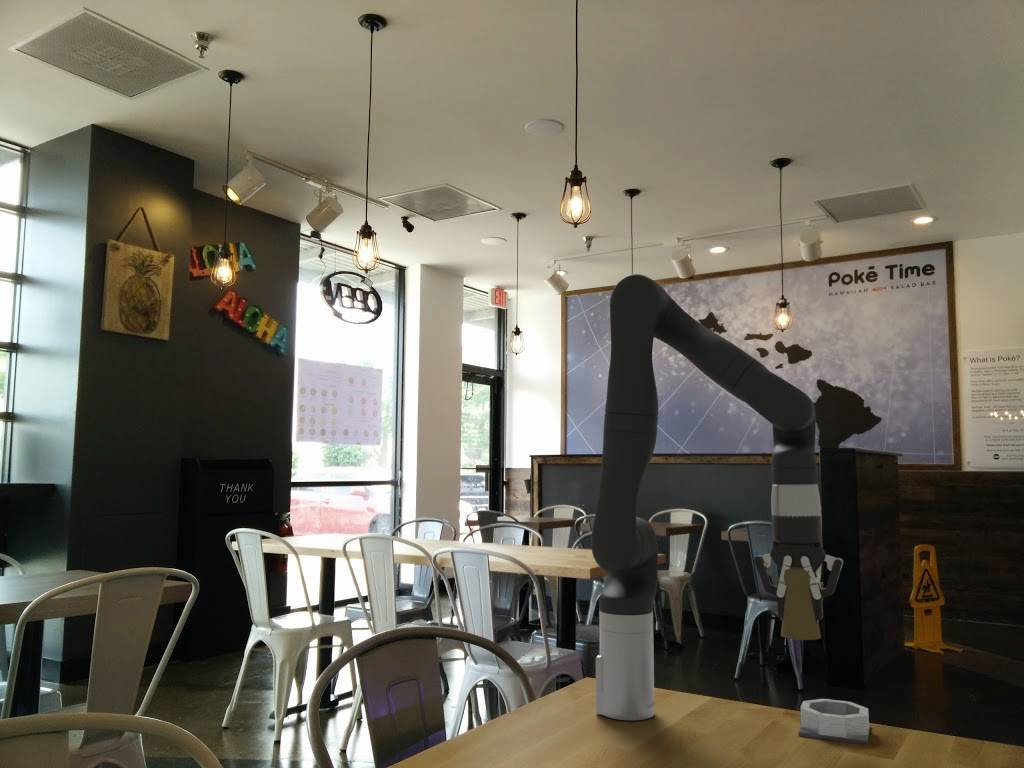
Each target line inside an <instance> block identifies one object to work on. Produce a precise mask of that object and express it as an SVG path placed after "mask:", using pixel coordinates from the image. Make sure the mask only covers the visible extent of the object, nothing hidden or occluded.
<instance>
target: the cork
mask: <svg viewBox="0 0 1024 768" xmlns="http://www.w3.org/2000/svg"><path fill="white" fill-rule="evenodd" d="M808 572H809V570H808ZM808 572H807V571H806V570H804V568H803V567H791V568H790V569H787V570H785V573H784V582H785V583H784V584H785V586H786V591H785V605H784V615H783V621H781V629H780V630H781V631H780V637H782V638H784V639H789V640H798V641H816V640H820V639H821V638H822V635H821V629H820V624H819V623H820V622H819V623H818V624H817V623H816V620H815V615H814V610H813V605H812V600H813V594H812V591H811V588H810V578H811V576H810V575H809V573H808ZM814 575H815V574H814Z"/></svg>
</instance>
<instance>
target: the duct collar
mask: <svg viewBox="0 0 1024 768" xmlns="http://www.w3.org/2000/svg"><path fill="white" fill-rule="evenodd" d="M869 719H870V718H869V708H868V707H865V706H863V705H860V704H857V703H854V702H852V701H847V700H837V699H836V700H835V699H830V698H817V699H810V700H803V701H802V703H801V705H800V727H799V730H798V737H804V738H811V739H819V740H826V741H835V742H841V743H843V742H844V743H851V744H856V745H857V744H858V745H865V746H868V745H869V744H868V743H869V737H870V729H871V723H870V721H869ZM869 724H870V725H869Z"/></svg>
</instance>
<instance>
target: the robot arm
mask: <svg viewBox="0 0 1024 768" xmlns="http://www.w3.org/2000/svg"><path fill="white" fill-rule="evenodd" d="M611 291H612V292H611V295H610V299H609V321H610V322H609V323H610V325H609V326H610V327H609V328H610V358H609V359H610V360H609V368H608V377H607V389H606V398H605V399H606V401H605V408H604V419H603V421H604V422H603V435H602V436H603V437H602V438H603V439H602V454H601V464H600V465H601V467H600V476H599V477H600V479H599V488H598V489H599V490H598V497H597V502H596V508H595V512H594V517H593V518H594V519H593V525H592V529H591V535H590V536H591V539H590V546H591V547H590V548H591V553H592V557H593V558H594V561H595V563H596V564H597V565H598V566H599V567H600V569H602V570H603V571H605V572H607V573H609V580H608V582H607V583H606V586H605V587H604V589H603V590H602V592H601V593H600V594H599V598H598V607H599V609H598V611H599V615H598V616H599V623H598V624H599V654H598V655H597V656H596V657H595V714H596V715H601V716H604V717H606V718H609V719H614V720H620V721H642V720H648V719H650V718H653V716H654V715H655V670H654V669H655V668H654V667H655V666H654V665H655V661H654V660H655V659H654V656H655V654H654V651H655V650H654V600H655V598H656V595H657V590H658V574H659V572H658V571H659V546H658V539H657V535H656V532H655V529H654V527H653V526H652V525H651V523H649V522H648V521H647V520H646V519H644V518H642V517H638V516H637V510H638V508H637V507H638V497H639V492H640V486H641V484H642V482H643V481H642V480H643V479H644V476H645V474H646V471H647V470H648V466H649V465H650V463H651V460H652V457H653V454H654V450H655V448H656V443H657V437H658V435H657V434H658V421H659V398H658V389H657V384H656V377H655V372H654V365H653V364H654V363H653V348H654V347H653V345H654V339H656V340H659V341H661V342H662V343H664V344H666V345H668V346H669V347H671V348H672V349H674V350H675V351H677V352H678V353H679V354H681V355H682V356H683V357H684V358H686V359H687V360H688V361H689V362H690V363H691V364H692V365H694V367H695V368H696V369H698V370H699V371H700V372H701V373H703V374H704V375H705V376H706V377H708V378H709V380H712V381H713V382H714V383H716V384H717V385H718V386H720V387H721V388H722V389H724V390H725V391H726V392H728V393H729V394H730V395H732V396H733V397H735V398H736V399H738V400H740V401H741V402H744V403H745V404H746V405H748V407H749V406H750V408H751V409H753V410H754V411H755V412H757V414H759V415H760V416H761V417H763V418H764V419H765V420H767V421H768V422H769V423H770V424H771V426H772V439H773V443H772V444H773V452H772V455H771V468H770V469H771V497H770V504H771V506H770V508H771V509H770V510H771V527H772V529H771V530H772V548H771V549H770V551H769V553H765V554H763V555H762V554H759V555H757V556H755V557H754V559H753V560H754V564H755V567H756V569H757V572H758V575H759V577H760V580H761V582H762V585H763V588H764V590H765V592H766V593H768V594H772V595H774V596H775V597H776V599H777V600H776V601H777V615H778V617H779V618H781V620H782V621H783V615H784V605H785V591H786V586H785V584H784V583H785V582H784V573H785V570H787V569H790V568H791V567H803V568H804V570H806V571H807V572H808V570H809V572H808V573H809V575H810V576H811V578H810V588H811V591H812V594H813V600H812V605H813V610H814V615H815V620H816V623H817V624H818V623H820V621H822V619H823V617H824V609H823V607H824V606H823V599H824V598H827V597H831V596H833V594H834V593H835V591H836V588H837V584H838V581H839V579H840V575H841V572H842V568H843V566H844V560H843V558H841V557H835V556H832V555H829V554H827V552H826V551H825V549H824V546H823V535H822V534H823V533H822V531H823V529H822V505H821V496H820V492H819V486H818V466H817V465H818V463H817V456H816V426H817V425H816V424H817V423H816V409H815V404H814V402H813V400H812V399H811V398H810V396H809V395H807V393H805V392H804V391H802V390H801V389H799V387H796V386H794V385H793V384H792V383H790V382H788V381H787V380H785V379H783V378H782V377H781V376H779V375H777V374H775V373H773V372H772V371H771V370H769V369H768V368H767V367H766V366H765V365H764V364H763V363H762V362H760V360H759V361H758V360H757V359H756V358H755V357H753V356H752V355H750V354H749V353H748V352H746V351H745V350H743V349H741V348H740V347H738V346H737V345H735V344H734V343H733V342H731V341H729V340H727V339H726V338H724V337H723V336H721V335H720V334H717V333H716V332H714V331H712V330H711V329H710V328H708V327H706V326H705V325H703V324H702V323H700V322H699V321H697V320H696V319H695V318H694V317H692V316H691V315H690V314H689V313H687V312H686V311H685V310H684V309H683V308H682V307H681V306H680V305H679V304H678V303H677V302H676V301H675V300H674V299H673V298H672V297H671V296H670V295H669V294H668V293H667V292H666V290H665V289H664V287H663V286H661V284H659V283H658V282H656V281H655V280H653V279H652V278H650V277H648V276H646V275H644V274H639V273H631V274H628V275H625V276H623V278H621V279H620V280H619V281H618V282H616V284H615V286H614V287H613V290H611ZM771 560H772V561H773V563H775V565H776V566H777V567H778V569H779V570H780V571H781V572H780V575H779V579H778V585H776V584H775V582H774V580H773V577H772V574H771V572H770V569H769V568H770V567H771ZM824 562H826V568H827V569H828V570H829V571H830V573H829V577H828V580H827V583H826V586H825V587H823V588H822V587H821V582H820V580H819V576H818V573H817V571H818V570H819V568H820V567H821V566H822V565H823V563H824ZM814 574H815V575H814ZM782 621H781V622H782Z"/></svg>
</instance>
